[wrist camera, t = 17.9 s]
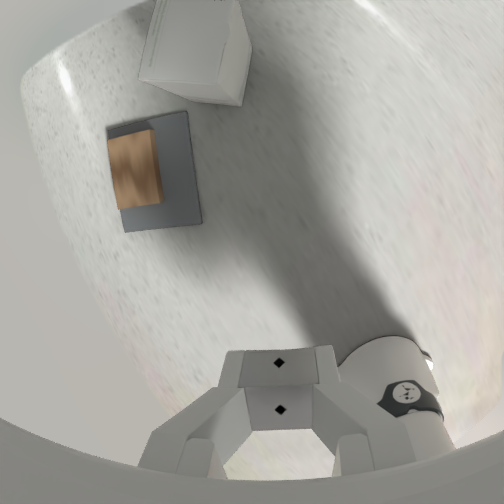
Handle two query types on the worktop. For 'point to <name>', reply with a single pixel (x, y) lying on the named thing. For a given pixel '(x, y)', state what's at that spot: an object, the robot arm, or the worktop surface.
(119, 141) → the walnut slab
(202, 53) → the skincare box
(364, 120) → the worktop surface
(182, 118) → the slate mat
